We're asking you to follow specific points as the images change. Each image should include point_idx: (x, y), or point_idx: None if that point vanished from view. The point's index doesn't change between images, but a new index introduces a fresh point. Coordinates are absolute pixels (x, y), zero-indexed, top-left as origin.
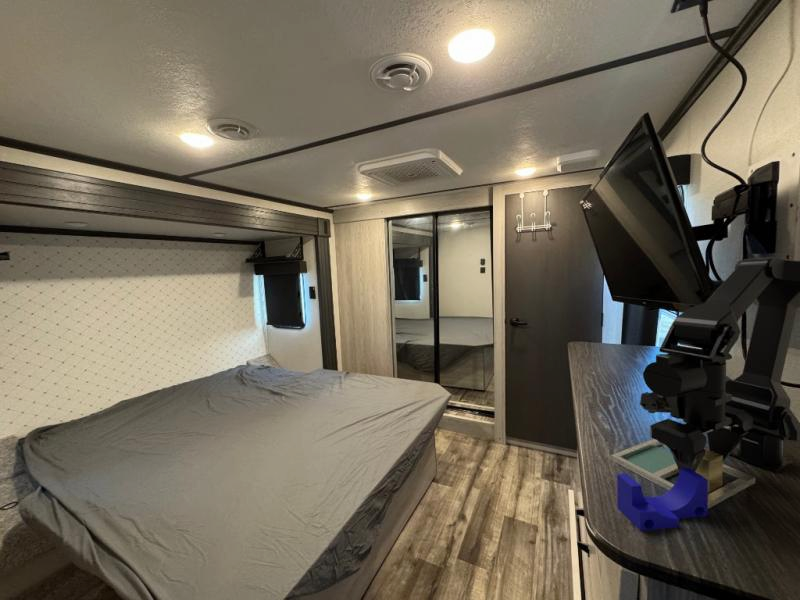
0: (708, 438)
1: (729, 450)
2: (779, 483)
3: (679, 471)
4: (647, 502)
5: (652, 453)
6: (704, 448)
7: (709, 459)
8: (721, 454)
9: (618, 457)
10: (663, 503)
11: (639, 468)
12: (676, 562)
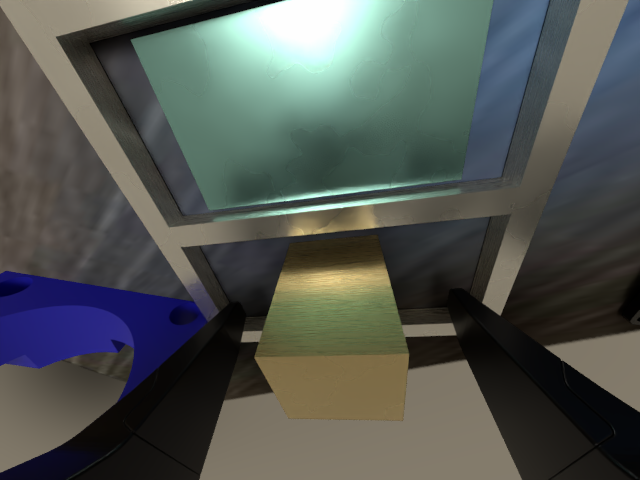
0: (553, 405)
1: (495, 418)
2: (536, 333)
3: (213, 318)
4: (16, 357)
5: (355, 43)
6: (402, 385)
7: (305, 415)
8: (474, 363)
9: (45, 50)
10: (106, 326)
11: (131, 183)
12: (84, 360)
